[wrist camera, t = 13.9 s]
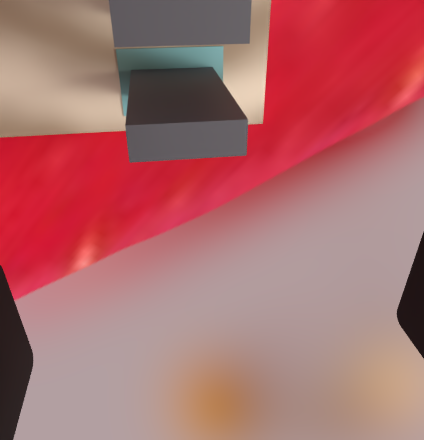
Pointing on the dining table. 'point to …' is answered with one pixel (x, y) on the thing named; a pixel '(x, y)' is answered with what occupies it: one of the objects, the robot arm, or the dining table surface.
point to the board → (103, 67)
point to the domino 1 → (180, 22)
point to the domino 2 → (182, 116)
